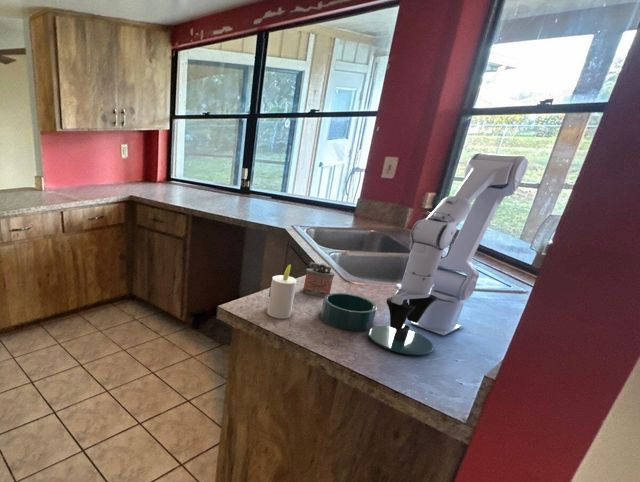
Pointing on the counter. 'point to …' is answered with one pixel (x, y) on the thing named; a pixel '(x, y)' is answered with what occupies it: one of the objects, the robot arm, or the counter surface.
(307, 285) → the brick planter box
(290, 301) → the candle
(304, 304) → the counter surface
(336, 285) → the counter surface
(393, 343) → the cover
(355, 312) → the pot
